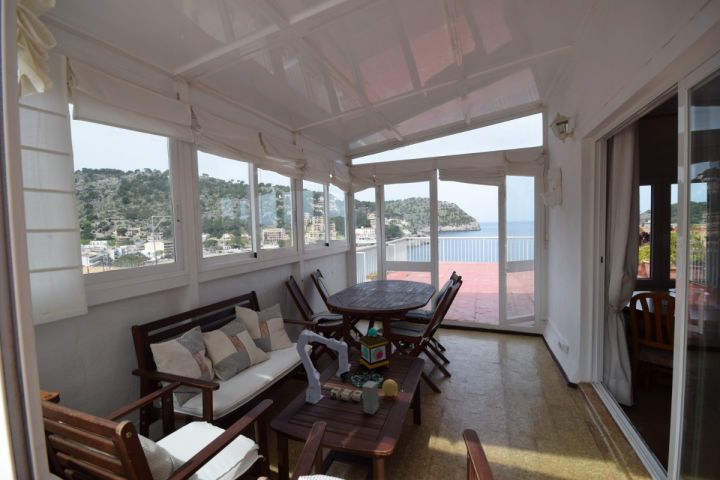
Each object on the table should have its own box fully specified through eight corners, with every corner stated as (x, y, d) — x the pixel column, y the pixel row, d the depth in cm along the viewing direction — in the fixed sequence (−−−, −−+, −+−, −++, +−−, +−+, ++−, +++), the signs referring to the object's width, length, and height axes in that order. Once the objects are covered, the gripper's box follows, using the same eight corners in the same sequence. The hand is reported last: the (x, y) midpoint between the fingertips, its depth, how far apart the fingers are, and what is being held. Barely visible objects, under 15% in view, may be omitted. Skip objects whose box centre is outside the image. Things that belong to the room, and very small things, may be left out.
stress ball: (390, 402, 196) (402, 390, 196) (379, 390, 196) (391, 378, 197) (389, 396, 206) (400, 385, 206) (378, 384, 206) (389, 373, 207)
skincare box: (373, 415, 182) (372, 388, 181) (362, 411, 185) (361, 385, 184) (379, 407, 189) (378, 382, 188) (369, 404, 193) (368, 379, 192)
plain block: (348, 400, 198) (348, 394, 198) (341, 399, 200) (341, 392, 200) (352, 396, 202) (351, 390, 202) (345, 395, 205) (345, 389, 204)
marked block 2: (359, 401, 196) (359, 395, 196) (352, 399, 199) (352, 393, 198) (363, 397, 201) (363, 391, 200) (356, 395, 203) (355, 389, 203)
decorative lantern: (356, 364, 247) (355, 326, 245) (378, 358, 256) (376, 321, 254) (369, 374, 229) (367, 334, 227) (392, 367, 239) (390, 329, 237)
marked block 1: (337, 398, 201) (337, 392, 201) (331, 396, 203) (330, 390, 203) (341, 394, 205) (341, 388, 205) (335, 392, 208) (335, 386, 208)
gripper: (342, 367, 193) (343, 389, 194) (354, 358, 205) (355, 378, 206) (333, 365, 196) (334, 386, 197) (345, 356, 209) (346, 376, 210)
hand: (344, 382), depth 202 cm, fingers closed
